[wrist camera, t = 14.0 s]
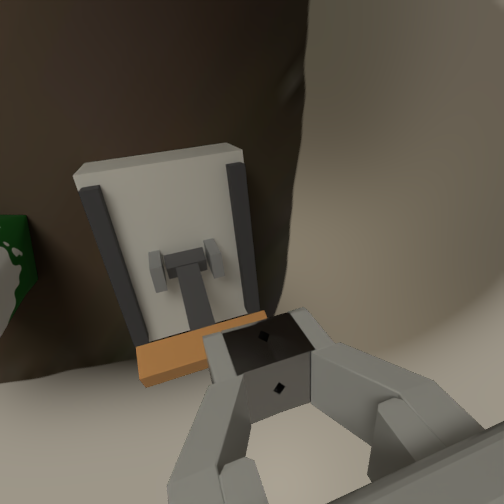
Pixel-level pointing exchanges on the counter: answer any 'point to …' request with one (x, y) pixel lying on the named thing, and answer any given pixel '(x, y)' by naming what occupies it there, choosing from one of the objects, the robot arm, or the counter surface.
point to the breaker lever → (199, 319)
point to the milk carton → (14, 265)
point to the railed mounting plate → (117, 266)
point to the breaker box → (172, 227)
